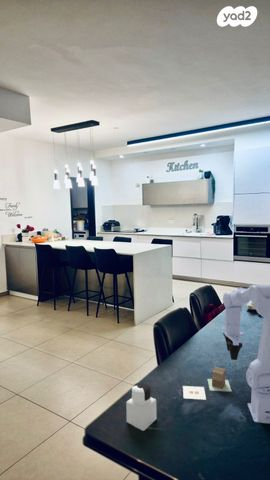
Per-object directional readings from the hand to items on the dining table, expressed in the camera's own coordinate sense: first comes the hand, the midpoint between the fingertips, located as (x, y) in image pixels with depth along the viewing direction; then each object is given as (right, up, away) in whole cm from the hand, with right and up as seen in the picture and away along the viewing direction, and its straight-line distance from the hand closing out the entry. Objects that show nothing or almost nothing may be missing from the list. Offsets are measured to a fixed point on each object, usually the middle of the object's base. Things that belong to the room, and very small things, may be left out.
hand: (232, 354), depth 127 cm
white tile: (-17, -11, -10) cm, 23 cm away
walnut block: (-7, -10, -5) cm, 13 cm away
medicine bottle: (-37, -13, -25) cm, 46 cm away
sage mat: (-7, -10, -5) cm, 13 cm away
